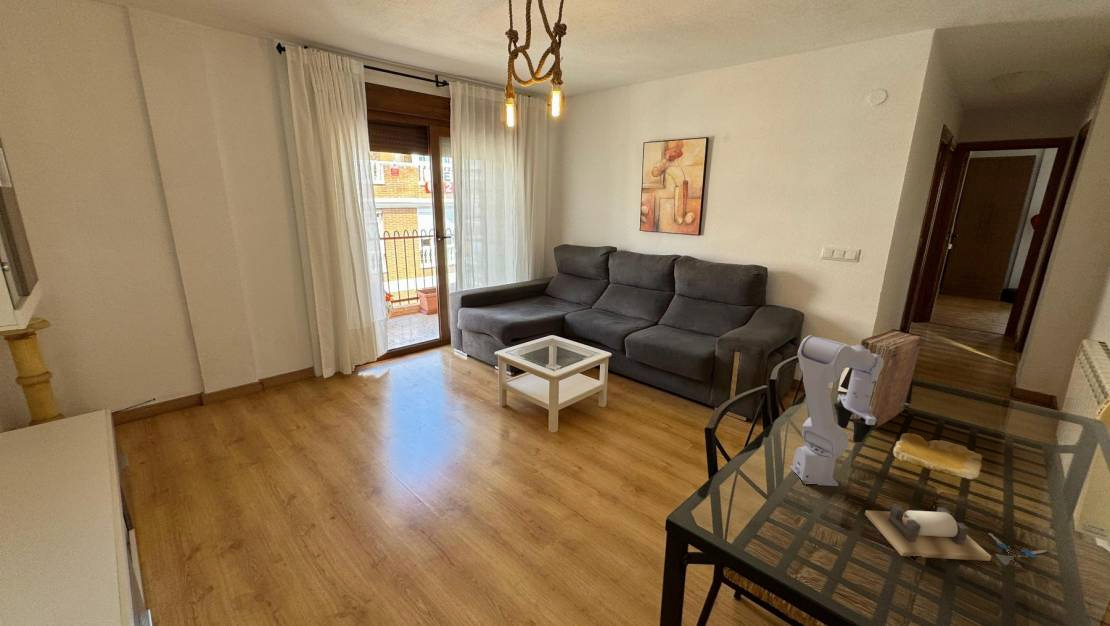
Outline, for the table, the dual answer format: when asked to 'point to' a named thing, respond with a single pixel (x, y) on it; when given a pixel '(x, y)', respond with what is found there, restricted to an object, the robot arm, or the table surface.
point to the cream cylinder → (933, 523)
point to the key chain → (1006, 559)
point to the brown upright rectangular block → (892, 372)
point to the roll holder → (924, 537)
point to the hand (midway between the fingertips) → (849, 434)
